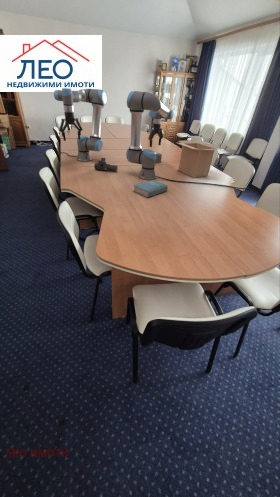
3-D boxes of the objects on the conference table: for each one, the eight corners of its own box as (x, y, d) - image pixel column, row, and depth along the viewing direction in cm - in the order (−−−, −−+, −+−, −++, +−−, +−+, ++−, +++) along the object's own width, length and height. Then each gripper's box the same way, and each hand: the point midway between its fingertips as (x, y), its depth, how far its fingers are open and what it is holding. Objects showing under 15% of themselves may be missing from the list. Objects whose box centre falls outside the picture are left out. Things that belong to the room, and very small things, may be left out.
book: (152, 185, 190) (153, 179, 187) (167, 191, 181) (167, 185, 178) (133, 191, 176) (133, 185, 173) (147, 198, 167) (148, 191, 164)
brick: (157, 161, 253) (158, 152, 248) (160, 162, 249) (161, 154, 244) (154, 161, 250) (155, 153, 245) (157, 163, 247) (158, 154, 241)
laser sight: (115, 173, 209) (115, 162, 203) (92, 170, 212) (92, 159, 206) (118, 170, 216) (118, 159, 211) (96, 167, 219) (95, 157, 213)
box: (220, 177, 217) (229, 148, 201) (192, 181, 203) (199, 150, 187) (192, 165, 247) (198, 138, 231) (166, 167, 233) (170, 139, 217)
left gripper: (80, 111, 188) (83, 138, 201) (52, 111, 175) (56, 140, 188) (85, 112, 184) (87, 139, 197) (56, 112, 171) (60, 142, 183)
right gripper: (162, 122, 231) (160, 143, 244) (145, 123, 217) (144, 146, 229) (168, 123, 227) (165, 145, 240) (151, 124, 212) (149, 148, 225)
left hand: (72, 140), depth 192 cm, fingers open, 13 cm apart
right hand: (155, 146), depth 235 cm, fingers open, 13 cm apart
